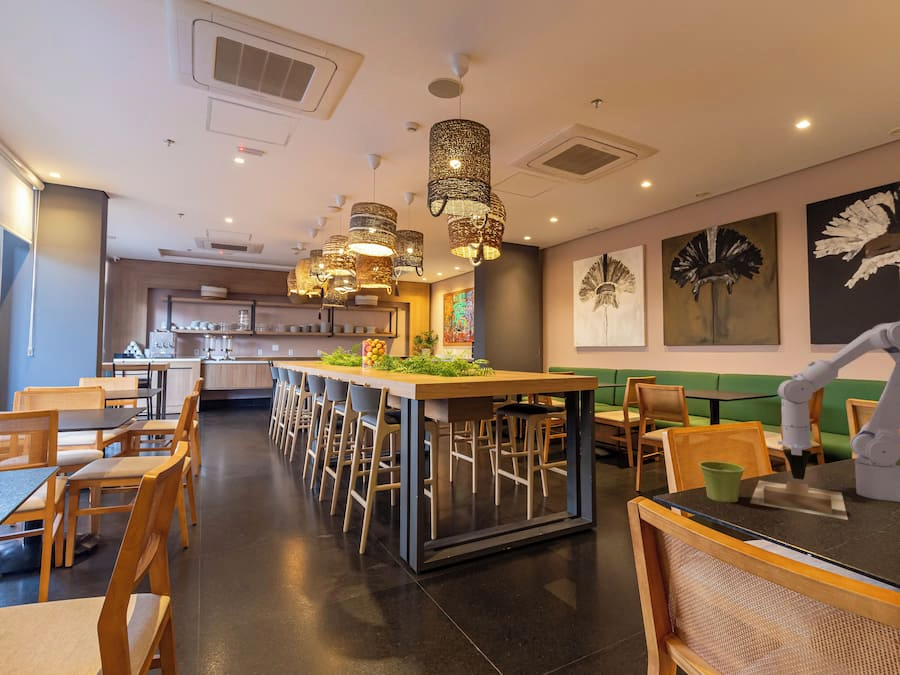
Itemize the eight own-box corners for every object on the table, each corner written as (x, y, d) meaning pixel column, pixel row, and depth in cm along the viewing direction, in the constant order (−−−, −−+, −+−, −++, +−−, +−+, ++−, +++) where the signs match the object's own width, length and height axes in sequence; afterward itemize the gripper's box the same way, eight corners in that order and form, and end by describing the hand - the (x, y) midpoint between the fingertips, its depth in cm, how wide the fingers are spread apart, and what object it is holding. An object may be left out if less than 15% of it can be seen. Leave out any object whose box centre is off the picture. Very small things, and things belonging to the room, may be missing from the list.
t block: (829, 500, 104) (829, 487, 104) (831, 514, 95) (831, 500, 95) (767, 490, 111) (767, 478, 112) (763, 502, 102) (763, 489, 102)
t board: (841, 496, 110) (841, 492, 110) (848, 524, 91) (847, 519, 91) (759, 484, 121) (759, 480, 121) (750, 507, 102) (749, 502, 102)
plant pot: (753, 510, 100) (752, 471, 100) (708, 507, 102) (707, 470, 102) (735, 497, 109) (734, 462, 110) (694, 495, 111) (693, 460, 111)
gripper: (778, 421, 122) (780, 470, 122) (775, 428, 111) (777, 482, 110) (810, 423, 118) (813, 474, 117) (811, 430, 107) (814, 487, 106)
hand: (798, 478), depth 113 cm, fingers closed
